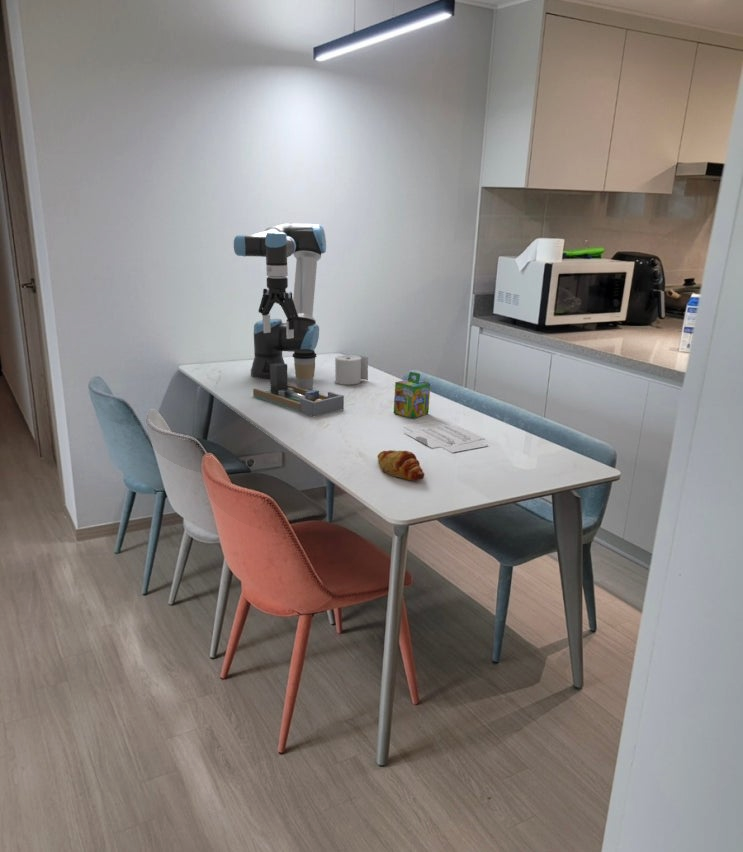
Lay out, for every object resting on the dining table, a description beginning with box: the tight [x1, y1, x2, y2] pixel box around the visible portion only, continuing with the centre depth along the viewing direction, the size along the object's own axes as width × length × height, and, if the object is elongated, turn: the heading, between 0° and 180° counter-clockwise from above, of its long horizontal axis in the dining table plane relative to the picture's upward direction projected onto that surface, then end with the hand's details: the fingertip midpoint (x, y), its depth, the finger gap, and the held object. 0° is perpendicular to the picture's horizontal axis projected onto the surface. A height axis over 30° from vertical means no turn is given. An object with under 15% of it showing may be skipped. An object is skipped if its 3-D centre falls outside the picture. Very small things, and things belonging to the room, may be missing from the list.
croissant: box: [377, 449, 425, 482], centre depth 197 cm, size 21×10×8 cm, turn 33°
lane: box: [252, 384, 328, 413], centre depth 263 cm, size 14×28×4 cm, turn 45°
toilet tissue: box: [334, 354, 369, 386], centre depth 291 cm, size 11×12×10 cm
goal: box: [299, 391, 345, 417], centre depth 251 cm, size 14×8×5 cm, turn 135°
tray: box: [403, 420, 488, 454], centre depth 228 cm, size 20×28×4 cm
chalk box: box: [393, 371, 431, 419], centre depth 248 cm, size 9×9×15 cm
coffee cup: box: [291, 349, 317, 391], centre depth 278 cm, size 9×9×15 cm
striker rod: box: [269, 362, 320, 402], centre depth 260 cm, size 5×22×11 cm, turn 45°
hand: (278, 335), depth 261 cm, fingers open, 13 cm apart
